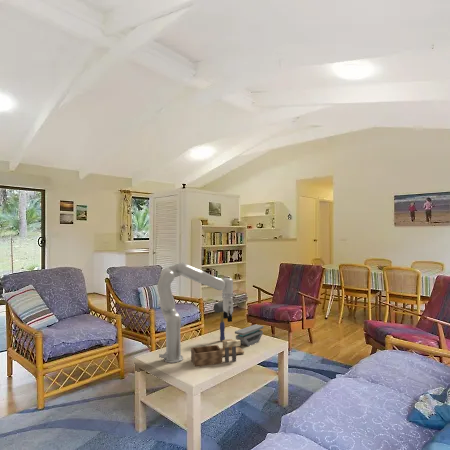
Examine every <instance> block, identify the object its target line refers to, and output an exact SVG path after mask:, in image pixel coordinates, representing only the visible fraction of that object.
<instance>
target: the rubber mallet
mask: <svg viewBox="0 0 450 450" xmlns="http://www.w3.org/2000/svg"><path fill="white" fill-rule="evenodd" d="M213 311H214V312H215V313H220V322H219V331H220V332H219V334H220V336H219V340H220V342H223V340H226V337H225V329H226V328H225V327H226V326H225V319H224V318H223V311H224V310H223V301H220V302H217V303H214V305H213Z"/></svg>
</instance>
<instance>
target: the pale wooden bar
mask: <svg viewBox="0 0 450 450" xmlns="http://www.w3.org/2000/svg"><path fill="white" fill-rule="evenodd" d="M226 340H227V339H225V340H223V341H222V347H223V346H224V348H227V347H234V346H239V347H241V345H242V344H241V341H240V340H237V339H232V341H226Z"/></svg>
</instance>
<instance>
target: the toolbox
mask: <svg viewBox="0 0 450 450" xmlns="http://www.w3.org/2000/svg"><path fill="white" fill-rule="evenodd" d="M220 348H221V347H220V346H219V345H218V344H213V345H204V346H195V347H191V348H190V361H191V362H192V365H194V367H195V368H197V367H205V366H211V365H212V366H213V365H219V364H220V365H221V364H223V356H222V350H221V349H220ZM231 361H232V362H237V354H236V346H234V347H232V355H231ZM224 362H225V363H229V362H230V355H229V347H227V348H225V356H224Z"/></svg>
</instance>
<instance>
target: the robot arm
mask: <svg viewBox="0 0 450 450" xmlns="http://www.w3.org/2000/svg"><path fill="white" fill-rule="evenodd" d="M159 275H160V276H159V280H158V282H157V285H156V288H157V292H158V297H159V299H158V300H159V301H158V302H159V307H160V310H161V313H162V317H163V319H164V321H165V323H166V324H165V325H166V327H165V346H166V347H165V348H166V349H165V352H164V353H163V354H161V353H160V354H159V355H158V357H159V358H160V359H163V361H164V362H166V363H173V364H174V363H179V362H182V361H183V360H184V356H183V355H182V354H181V348H182V347H181V346H182V345H181V324H182V318H181V316H180V314H179V312H178V311H177V309H176V301H175V299H174V295H173V292H172V289H171V288H172V287H171V284H172V283H173V281H174V280H175V279H176V278H178V277H180V276H181V277H184V278H187V279H189V280H191V281H194V282H197V283H198V284H201V285H204V286H208V287H210V288H212V289H215V290H216V291H222V292H221V295H222V302H223V310H224V311H223V318H224V320H225V319H227V320H226V321H227V322H228V323H231V322H233V313H234V301H233V298H234V280H233V278H232V277H224V278H221V277H216V276H214V275H212V274H210V273H208V272H206V271H204V270H202V269H199V268H197V267H194V266H192V265H190V264H188V263H185V262H178V263H176V264H174V265H172V266H168V267H165V268H163V269H162V270H161V271H160V274H159Z"/></svg>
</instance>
